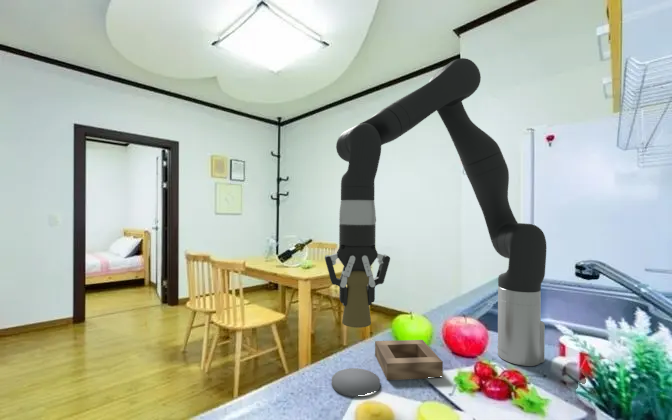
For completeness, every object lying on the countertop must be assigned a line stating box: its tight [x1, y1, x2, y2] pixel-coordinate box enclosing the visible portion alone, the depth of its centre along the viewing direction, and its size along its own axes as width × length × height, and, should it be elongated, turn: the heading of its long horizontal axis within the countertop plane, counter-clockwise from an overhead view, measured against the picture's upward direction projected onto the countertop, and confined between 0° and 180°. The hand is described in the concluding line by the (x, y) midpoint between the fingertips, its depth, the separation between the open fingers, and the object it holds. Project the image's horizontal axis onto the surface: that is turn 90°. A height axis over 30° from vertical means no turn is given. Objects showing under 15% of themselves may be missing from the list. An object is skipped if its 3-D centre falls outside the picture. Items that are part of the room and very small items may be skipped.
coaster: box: [331, 367, 381, 398], centre depth 68 cm, size 10×10×1 cm
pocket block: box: [374, 339, 444, 381], centre depth 76 cm, size 12×12×4 cm
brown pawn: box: [341, 271, 372, 329], centre depth 68 cm, size 6×6×11 cm
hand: (356, 304), depth 68 cm, fingers closed on brown pawn, 4 cm apart
